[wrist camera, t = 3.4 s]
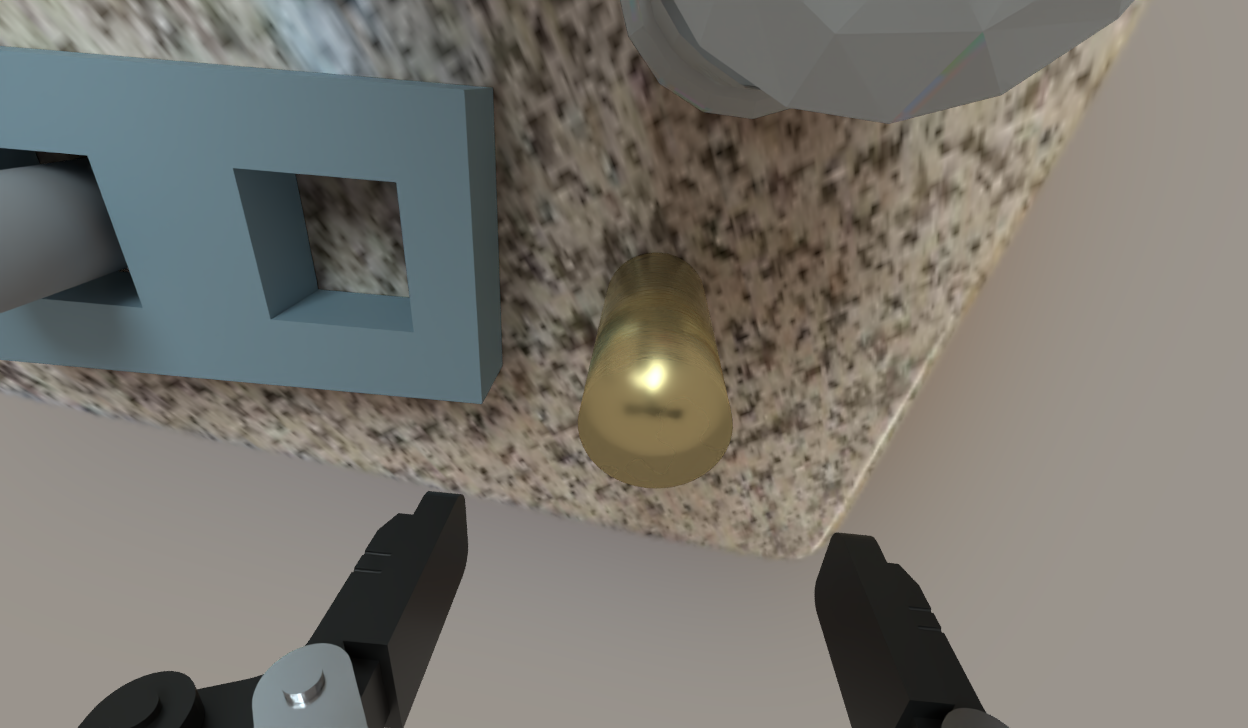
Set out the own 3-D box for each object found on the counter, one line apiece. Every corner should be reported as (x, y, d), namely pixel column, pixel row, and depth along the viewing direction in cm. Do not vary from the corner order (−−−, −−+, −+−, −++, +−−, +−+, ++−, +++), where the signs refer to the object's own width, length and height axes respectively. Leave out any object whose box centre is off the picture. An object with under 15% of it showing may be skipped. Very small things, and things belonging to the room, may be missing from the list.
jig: (-75, 39, 21) (-446, 21, 14) (493, 87, 21) (408, 93, 14) (54, 324, 27) (-163, 414, 20) (502, 365, 26) (445, 471, 19)
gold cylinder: (609, 248, 23) (580, 352, 15) (711, 257, 23) (745, 367, 15) (603, 340, 25) (575, 481, 17) (697, 349, 25) (719, 495, 17)
